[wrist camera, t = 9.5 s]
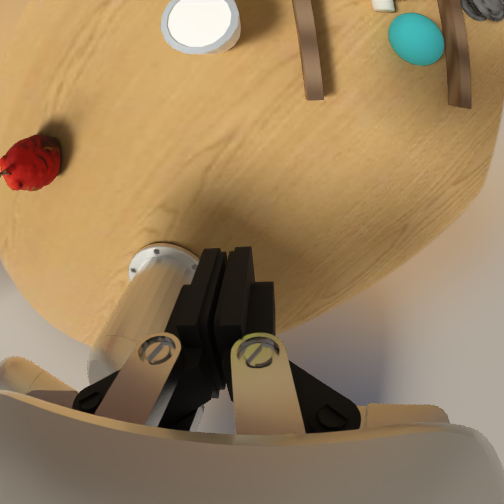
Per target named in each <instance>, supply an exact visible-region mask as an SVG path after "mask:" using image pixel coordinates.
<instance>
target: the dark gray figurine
mask: <svg viewBox="0 0 504 504" xmlns="http://www.w3.org/2000/svg"><path fill="white" fill-rule="evenodd" d="M460 3H461V7H462V9H463V10H464V11H465V13H466V14H467V15H469V16H470V17H471V18H473V19H474V20H477V21H484V20H486V19H487V18H488V19H490V20H493V21H497V22H498V21H501V20H503V19H504V0H460Z"/></svg>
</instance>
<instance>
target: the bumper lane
mask: <svg viewBox="0 0 504 504" xmlns="http://www.w3.org/2000/svg"><path fill="white" fill-rule="evenodd" d="M437 2H438V7H439V12H440V18H441V23H442V30H443V37H444V45H445V53H446V64H447V77H448V100H449V105H453V106H457V107H461V108H468V109H471V78H470V64H469V53H468V44H467V37H466V30H465V24H464V18H463V13H462V8H461V3H460V0H437ZM292 3H293V9H294V15H295V21H296V27H297V34H298V41H299V48H300V55H301V63H302V71H303V79H304V88H305V97H306V100H324V95H323V85H322V76H321V67H320V59H319V51H318V44H317V37H316V30H315V24H314V17H313V11H312V6H311V0H292Z"/></svg>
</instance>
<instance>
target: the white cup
mask: <svg viewBox="0 0 504 504" xmlns="http://www.w3.org/2000/svg"><path fill="white" fill-rule="evenodd" d="M161 31H162V33H163V36H164V39H165V41H166V42H167V43H168V44H170V45H171V46H172V47H173V48H174V49H175V50H178V51H181V52H184V53H186V54H220V53H223V52H226V51H228V50H229V49H231V48H232V47H233V46H234V45H235V44H236V43H237V41H238V39H239V38H240V33H241V24H240V16H239V11H238V9H237V6H236V3H235V1H234V0H172V1H171V2H169V4H168V5H167V7H166V9H165V11H164V12H163V14H162V20H161Z"/></svg>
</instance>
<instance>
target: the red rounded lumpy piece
mask: <svg viewBox="0 0 504 504" xmlns="http://www.w3.org/2000/svg"><path fill="white" fill-rule="evenodd" d="M60 165H61V154H60V145H59V143H58V141H57V140H56V139H55V138H49V137H48V136H45V135H42V134H40V135H33V136H31V137H29V138H26V139H23V140H20V141H19V142H17V143H15V144H14V145H13V146H12V147H11V148H10V149H9V150H8V152H7V153H6V155H5V156H3V157H2V158H1V159H0V167H1V172H0V177H1V175H3V177H4V179H5V181H6V183H7V185H8V186H9V188H10V189H11V190H19V189H21V190H28V191H37V190H39V189H41V188H42V187H43V186H46V185H48V184H50V183H51V182H52V181H53V180H54V179H55V177H56V176H57V175H58V172H59V170H60Z"/></svg>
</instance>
